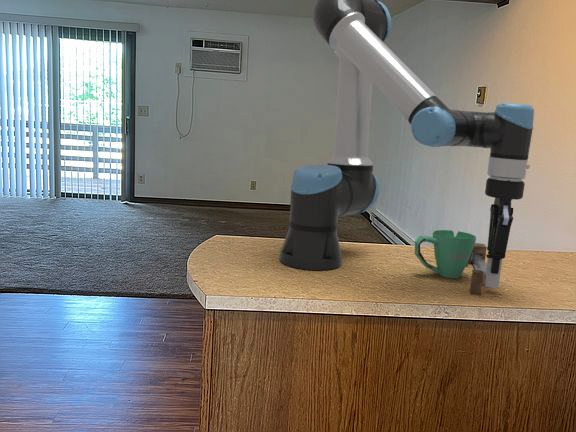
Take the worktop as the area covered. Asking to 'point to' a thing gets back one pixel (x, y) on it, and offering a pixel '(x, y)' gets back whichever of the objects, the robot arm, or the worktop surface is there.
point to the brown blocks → (477, 274)
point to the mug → (448, 251)
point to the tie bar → (479, 263)
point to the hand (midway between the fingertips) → (491, 286)
